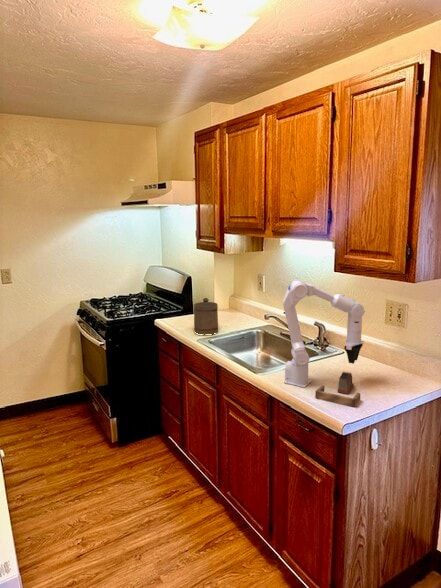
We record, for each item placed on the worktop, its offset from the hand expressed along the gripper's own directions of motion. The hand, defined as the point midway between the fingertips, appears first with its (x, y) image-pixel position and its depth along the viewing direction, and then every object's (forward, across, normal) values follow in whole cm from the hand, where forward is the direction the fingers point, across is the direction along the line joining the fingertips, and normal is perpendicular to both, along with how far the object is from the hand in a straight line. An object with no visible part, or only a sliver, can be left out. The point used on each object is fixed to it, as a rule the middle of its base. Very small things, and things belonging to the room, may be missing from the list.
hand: (353, 361), depth 173 cm
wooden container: (+10, +31, +99) cm, 104 cm away
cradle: (+9, -20, 0) cm, 22 cm away
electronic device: (+10, -9, 0) cm, 13 cm away
